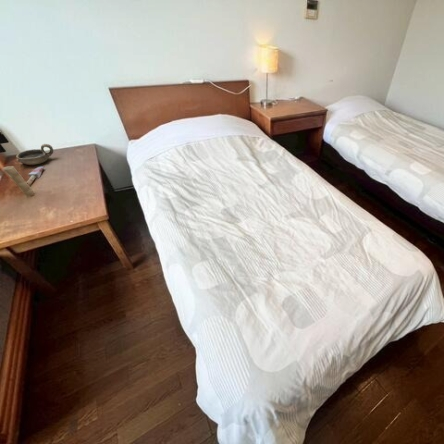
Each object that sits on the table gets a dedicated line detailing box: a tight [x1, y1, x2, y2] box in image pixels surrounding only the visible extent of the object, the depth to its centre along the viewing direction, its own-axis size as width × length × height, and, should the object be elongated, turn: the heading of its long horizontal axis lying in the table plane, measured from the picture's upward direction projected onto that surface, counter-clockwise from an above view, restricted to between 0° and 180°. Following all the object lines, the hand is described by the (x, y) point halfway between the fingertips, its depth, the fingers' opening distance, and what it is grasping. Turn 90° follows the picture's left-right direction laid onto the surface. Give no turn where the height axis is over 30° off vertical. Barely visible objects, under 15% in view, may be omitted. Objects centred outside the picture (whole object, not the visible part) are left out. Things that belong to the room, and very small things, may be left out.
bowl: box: [16, 143, 54, 166], centre depth 146 cm, size 14×18×10 cm
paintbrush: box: [26, 166, 45, 187], centre depth 137 cm, size 4×3×20 cm
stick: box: [3, 165, 36, 198], centre depth 122 cm, size 4×4×16 cm
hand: (2, 147), depth 109 cm, fingers open, 9 cm apart
